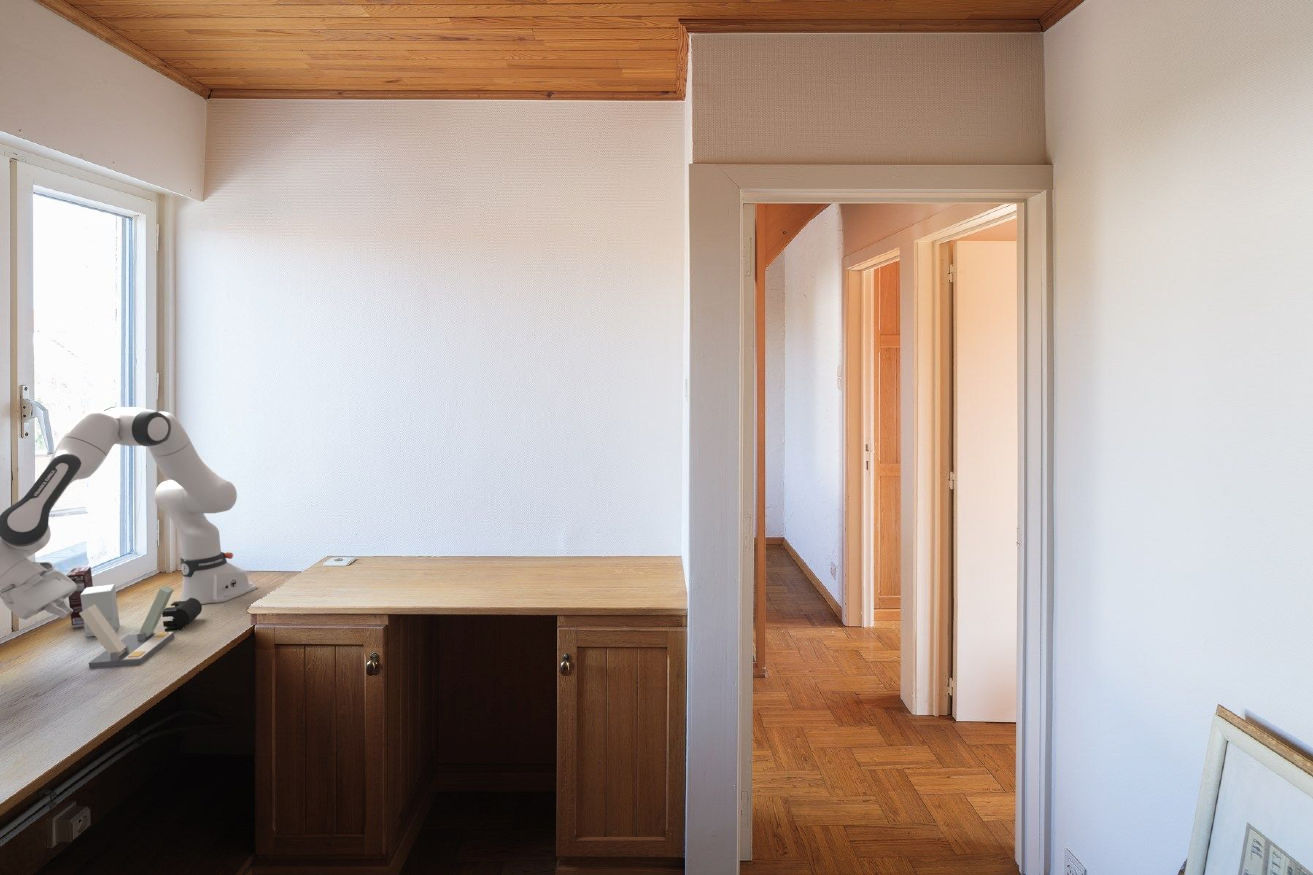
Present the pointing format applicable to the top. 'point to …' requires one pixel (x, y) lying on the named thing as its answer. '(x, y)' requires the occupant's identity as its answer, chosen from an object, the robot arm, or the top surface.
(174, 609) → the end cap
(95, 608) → the bar
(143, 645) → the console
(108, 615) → the supplement box
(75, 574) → the supplement box
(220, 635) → the top surface
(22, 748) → the top surface
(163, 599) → the bar
